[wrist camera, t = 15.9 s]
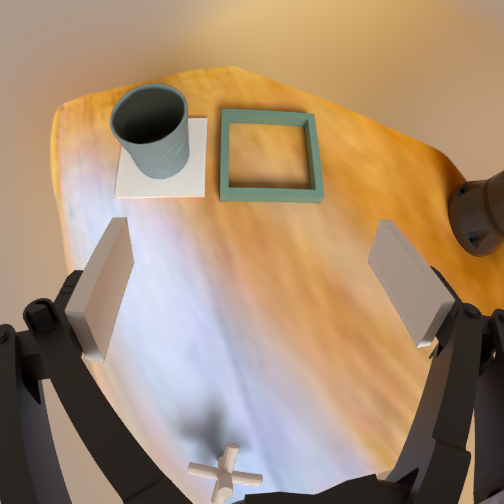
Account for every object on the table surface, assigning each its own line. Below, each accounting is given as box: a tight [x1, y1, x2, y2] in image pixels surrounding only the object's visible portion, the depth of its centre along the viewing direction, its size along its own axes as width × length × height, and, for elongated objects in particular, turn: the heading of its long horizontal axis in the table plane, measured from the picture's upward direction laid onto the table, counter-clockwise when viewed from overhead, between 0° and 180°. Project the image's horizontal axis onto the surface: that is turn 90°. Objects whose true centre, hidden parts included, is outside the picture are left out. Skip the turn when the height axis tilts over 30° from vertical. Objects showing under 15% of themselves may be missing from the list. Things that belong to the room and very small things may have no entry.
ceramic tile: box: [115, 118, 208, 199], centre depth 47 cm, size 14×14×1 cm
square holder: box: [220, 109, 324, 203], centre depth 48 cm, size 15×15×2 cm
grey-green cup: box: [110, 83, 190, 179], centre depth 41 cm, size 10×10×12 cm
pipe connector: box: [187, 443, 263, 504], centre depth 35 cm, size 10×10×10 cm
